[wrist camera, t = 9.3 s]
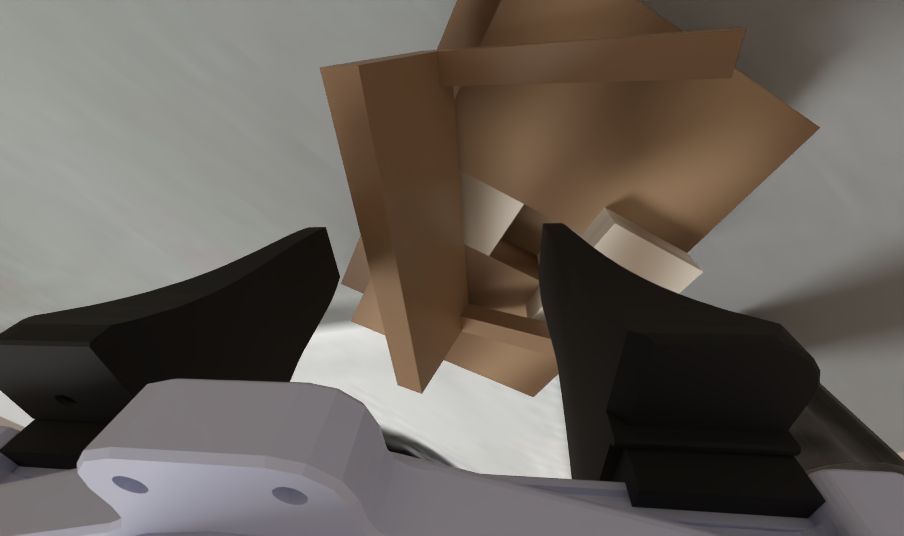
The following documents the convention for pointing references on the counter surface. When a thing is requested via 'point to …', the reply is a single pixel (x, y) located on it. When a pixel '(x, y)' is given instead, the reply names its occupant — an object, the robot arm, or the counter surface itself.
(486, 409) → the counter surface
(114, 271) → the counter surface
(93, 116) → the counter surface
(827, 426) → the beverage cup
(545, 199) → the wooden block stack
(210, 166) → the counter surface
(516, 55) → the wooden l-shaped bracket
